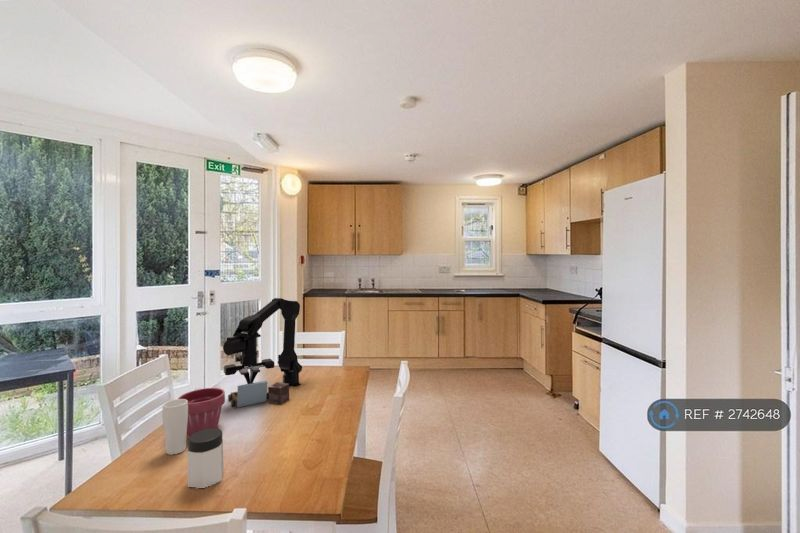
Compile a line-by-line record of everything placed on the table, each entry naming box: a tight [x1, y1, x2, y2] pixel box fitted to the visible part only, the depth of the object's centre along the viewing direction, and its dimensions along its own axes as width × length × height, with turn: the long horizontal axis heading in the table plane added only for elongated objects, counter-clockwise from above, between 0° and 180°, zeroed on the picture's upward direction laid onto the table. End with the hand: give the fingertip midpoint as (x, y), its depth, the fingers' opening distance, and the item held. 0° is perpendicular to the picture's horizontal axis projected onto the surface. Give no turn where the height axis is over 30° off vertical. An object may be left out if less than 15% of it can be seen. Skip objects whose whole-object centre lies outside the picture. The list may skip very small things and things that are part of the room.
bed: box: [227, 390, 269, 410], centre depth 152 cm, size 14×12×3 cm
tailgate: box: [236, 380, 268, 409], centre depth 146 cm, size 11×9×1 cm
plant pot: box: [177, 387, 226, 438], centre depth 125 cm, size 14×14×13 cm
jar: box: [186, 428, 224, 489], centre depth 97 cm, size 9×8×12 cm
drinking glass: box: [161, 398, 188, 456], centre depth 112 cm, size 7×7×15 cm
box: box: [267, 381, 290, 406], centre depth 150 cm, size 6×6×7 cm
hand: (249, 387), depth 150 cm, fingers closed
